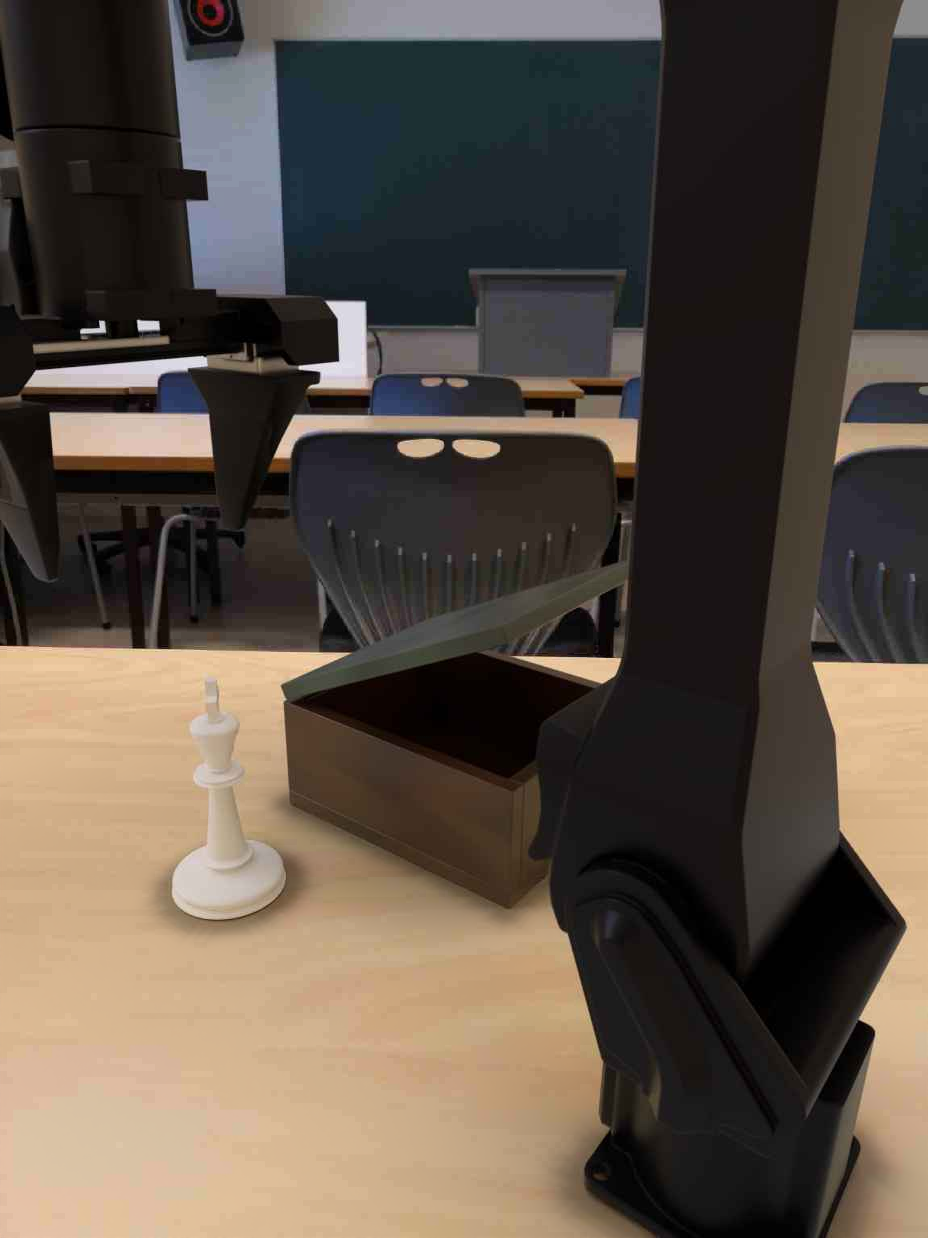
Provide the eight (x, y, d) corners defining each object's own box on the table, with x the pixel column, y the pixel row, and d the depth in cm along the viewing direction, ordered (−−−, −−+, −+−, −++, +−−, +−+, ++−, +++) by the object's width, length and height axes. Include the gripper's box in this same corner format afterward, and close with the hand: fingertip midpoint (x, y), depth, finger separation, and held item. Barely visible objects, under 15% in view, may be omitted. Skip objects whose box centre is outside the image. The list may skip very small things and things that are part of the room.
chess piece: (167, 927, 39) (139, 711, 35) (177, 857, 43) (153, 659, 40) (287, 913, 40) (272, 701, 36) (285, 846, 44) (272, 652, 41)
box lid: (644, 571, 45) (639, 556, 45) (507, 644, 36) (500, 625, 36) (433, 631, 54) (429, 618, 54) (285, 700, 46) (279, 685, 45)
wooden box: (634, 795, 49) (643, 695, 47) (508, 909, 40) (513, 792, 38) (431, 721, 56) (431, 631, 54) (289, 803, 48) (282, 701, 46)
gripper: (173, 170, 45) (203, 487, 51) (-290, 126, 31) (-179, 570, 37) (340, 157, 39) (354, 519, 45) (-143, 94, 25) (-36, 634, 31)
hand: (148, 552), depth 39 cm, fingers open, 9 cm apart
